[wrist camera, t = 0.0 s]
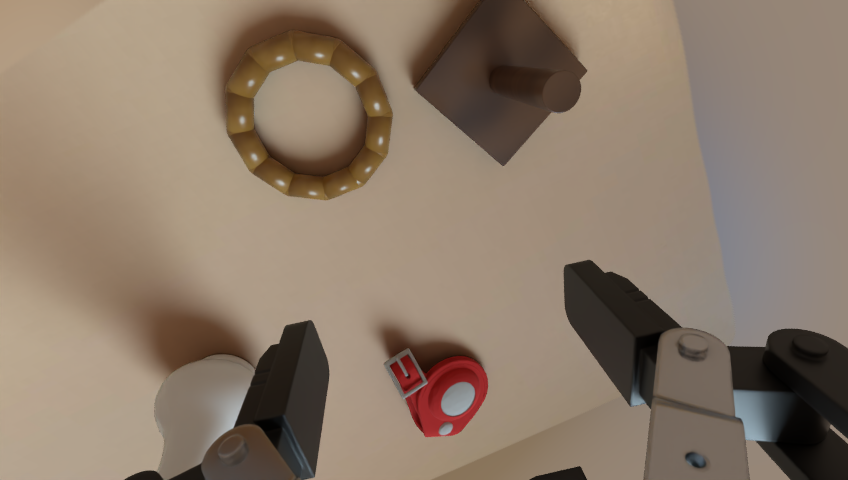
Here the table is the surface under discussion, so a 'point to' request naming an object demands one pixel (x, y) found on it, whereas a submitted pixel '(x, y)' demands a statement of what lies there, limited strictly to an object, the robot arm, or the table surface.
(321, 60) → the ring
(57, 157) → the table surface
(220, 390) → the flower vase
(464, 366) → the tracker holder
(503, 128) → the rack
